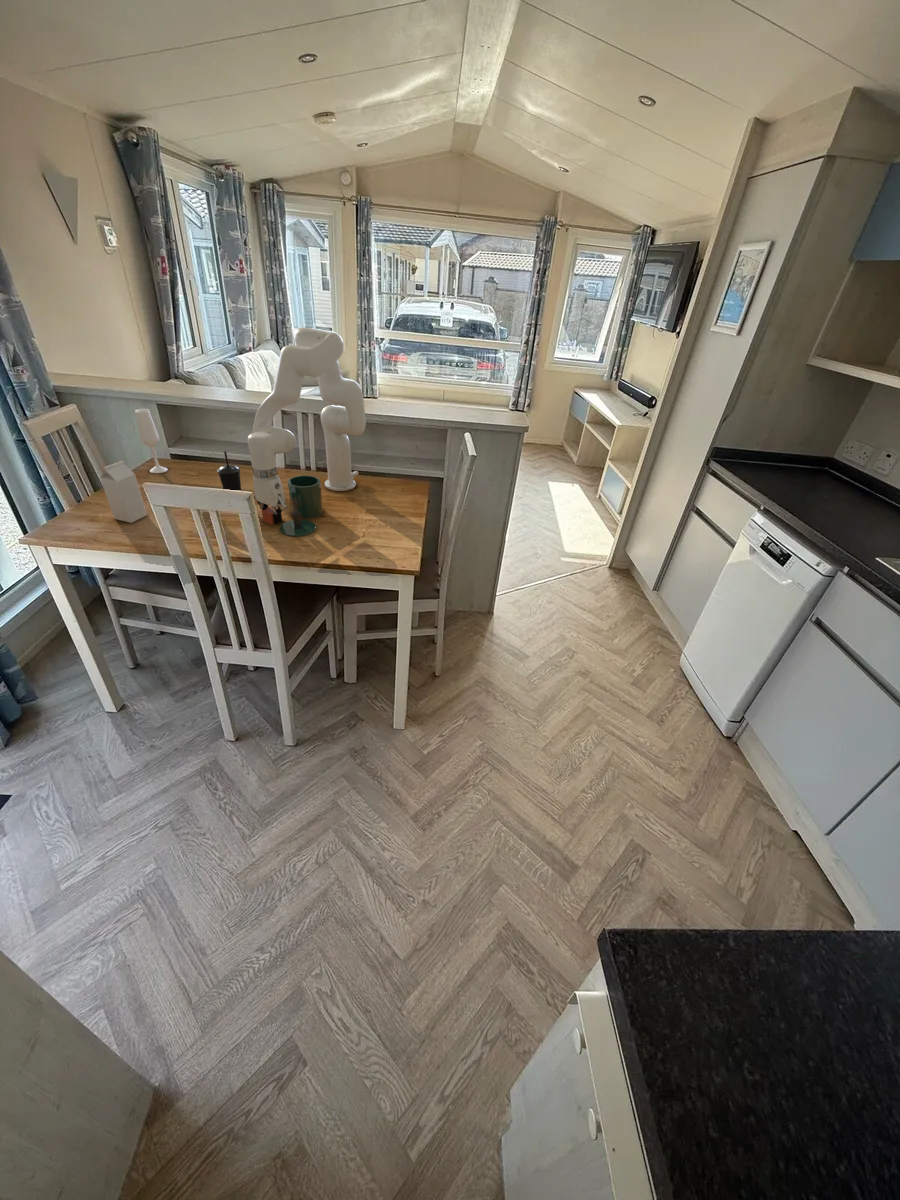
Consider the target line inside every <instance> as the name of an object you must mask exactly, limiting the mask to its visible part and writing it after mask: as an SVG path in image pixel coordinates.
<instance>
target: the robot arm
mask: <svg viewBox="0 0 900 1200" xmlns="http://www.w3.org/2000/svg"><path fill="white" fill-rule="evenodd" d="M293 337H294V343H295V344H288V345H285V346H283V347H282V348H281V350H280V353H279V358H278V364H277V368H276V372H275V378H274V383H273V388H272V391H271V393H270V394H269V395H268V396H266V398H265V399H264V400H263V402H262V403H261V404H260V405H259V406H258V409H257V410H256V412H255V416H254V421H253V426H252V433H250V434H249V435H248V437H247V445H248V450H249V456H250V462H251V466H252V485H253V492H254V495H253V499H254V500H255V501H256V502H257V504H258V506H259V509H260V510H261V511H262V510H264V509H266V508H269V507H271V506H272V509H273V512H274V514H273V518H274V524H273V525H277V524H279V523H282V522H283V517H282V516H283V515H282V513H283V511H284V510H285V509H287V508H288V507H287V505H286V496H285V492H284V487H283V484H282V480H281V477H280V476H279V473H278V469H277V462H276V455H279V454H285V453H289V452H291V451H292V450H293V449H294V448H295V447H296V443H297V439H296V436H295V434H294V433H293V432H292V431H290V430H288V429H286V428H282V427H278V426H273V425H272V423H273V420H274V417H275V415H276V414H277V413H278V412H279V411H280V410H282V409H284V408H286V407H288V406H290V405H293V404H296V403H298V402H299V401H300V399H301V393H302V388H303V383H304V378H305V376H306V377H311V378H316V377H317V383H318V389H319V393H320V397H321V399H322V401H323V402H325V403H327V404H329V405H327V406H325V407H324V408H322V410H321V412H320V424H321V428H322V431H323V435H324V443H325V455H326V457H325V458H326V468H327V479H326V480H325V481H324V487H325V488H326V489H327V490H329V491H335V492H347V491H350V490H353V489H354V488H356V486H357V482H356V481H355V479H354V478H355V477H358V476H359V471H358V470H354V471H353V472H352V456H351V455H352V453H351V442H350V439H349V436H352V437H360V436H362V435H363V434H364V433H365V430H366V426H367V420H366V419H367V418H366V410H365V409H366V408H365V401H364V395H363V393H364V392H363V389H362V387H361V386H360V384H359V383H358V382H357V381H355V380H353V379H349V378H344V377H343V376H342V372H341V366H340V362H339V359H340V358H341V356H342V355H343V352H344V347H345V346H344V339H343V338H342V337H341V335H340V334H339V333H337V332H335V331H331V330H325V329H320V328H315V327H314V328H313V327H305V326H304V327H299V328H297V329H296V330H295V332H294V335H293ZM276 508H278V509H277V510H276Z"/></svg>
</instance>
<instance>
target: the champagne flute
mask: <svg viewBox="0 0 900 1200" xmlns="http://www.w3.org/2000/svg"><path fill="white" fill-rule="evenodd" d="M134 413H135V417H136V422H137V427H138V433H139V438H140V442H141V443H143V444H144V445H145V446H147V447H149V448H150V449H151V450H150V451H151V453H152V456H153V461H154V464H155V466H154V467H152V468H151V469H150V470H149V472H150V473H152V474H162V473H166V472H167V471H168V470H169V469H168V468H167V467H164V466H161V465H160V464H159V460H158V457H157V453H156V449H155V448H156V446H157V445H158V443H159V442H160V436H159V433H158V430H157V427H156V426H155V425H156V424H155V423H154V420H153V417H152V414H151V412H150V409H149V408H139V409H135V411H134Z"/></svg>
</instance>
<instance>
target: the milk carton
mask: <svg viewBox="0 0 900 1200" xmlns="http://www.w3.org/2000/svg"><path fill="white" fill-rule="evenodd" d="M103 469H104V471H103V473H102V474H101V475H100V477H99V478H100V482H101V485H102V487H103V490H104V493H105V496H106V499H107V501H108V504H109V507H110V510H111V513H112V516H113V518H114V520H117V521H120V522H125V523H129V524H132V523H135V522H136V521H139V520H140V519H142V518H145V517H146V516H148V511H147V509H146V506H145V502H144V499H143V496H142V492H141V489H140V486H139V482H138V480H137V476H136V474H135V473H134V472H133V471H132V470H131V469H130V468H129V467H128V466H127V465H126V464H125V462H124V460H120V461H118V462H115V463H112V464H109V465H106V466H104V467H103Z"/></svg>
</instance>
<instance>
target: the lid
mask: <svg viewBox="0 0 900 1200" xmlns="http://www.w3.org/2000/svg"><path fill="white" fill-rule="evenodd" d="M291 515H292V519H291V520H287V521H286V522H283V523H282V524H281V525H280V527H279V531H280V533H281V534H282V535H285V536H288V537H292V538H293V537H295V538H296V537H305V536H309V535H311V534H313V533H314V532H315V531H316V530H317V525H316V523H315V522H313V521H311V520H310V519H302V518H301V512H300V511H294V512H292V511H291Z"/></svg>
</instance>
